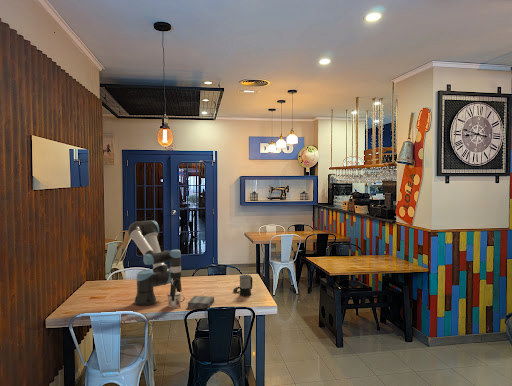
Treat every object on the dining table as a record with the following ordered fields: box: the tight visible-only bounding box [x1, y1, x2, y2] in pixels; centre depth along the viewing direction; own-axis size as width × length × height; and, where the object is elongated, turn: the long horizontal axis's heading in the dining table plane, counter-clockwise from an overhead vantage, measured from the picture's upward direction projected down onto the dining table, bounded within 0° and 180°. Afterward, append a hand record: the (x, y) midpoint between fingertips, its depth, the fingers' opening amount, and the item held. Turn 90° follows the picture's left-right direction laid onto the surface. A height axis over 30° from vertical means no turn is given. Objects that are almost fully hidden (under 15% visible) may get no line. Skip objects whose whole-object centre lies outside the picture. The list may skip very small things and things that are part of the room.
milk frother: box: [232, 274, 253, 297], centre depth 294 cm, size 14×16×15 cm
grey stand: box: [187, 295, 215, 310], centre depth 268 cm, size 15×15×4 cm
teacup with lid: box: [167, 290, 186, 309], centre depth 266 cm, size 12×9×12 cm
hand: (176, 303), depth 266 cm, fingers closed on teacup with lid, 9 cm apart
